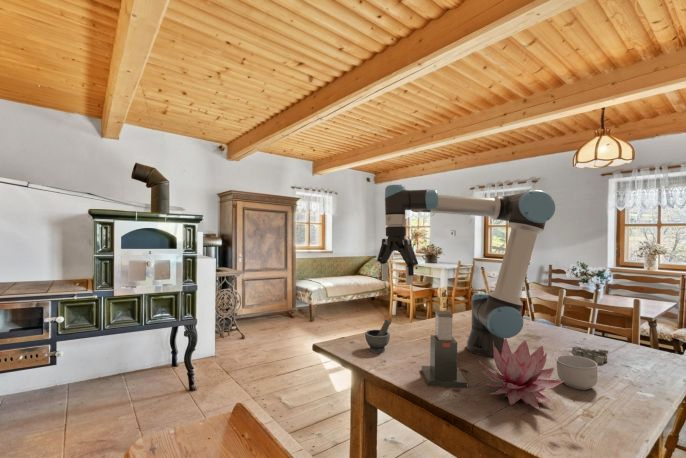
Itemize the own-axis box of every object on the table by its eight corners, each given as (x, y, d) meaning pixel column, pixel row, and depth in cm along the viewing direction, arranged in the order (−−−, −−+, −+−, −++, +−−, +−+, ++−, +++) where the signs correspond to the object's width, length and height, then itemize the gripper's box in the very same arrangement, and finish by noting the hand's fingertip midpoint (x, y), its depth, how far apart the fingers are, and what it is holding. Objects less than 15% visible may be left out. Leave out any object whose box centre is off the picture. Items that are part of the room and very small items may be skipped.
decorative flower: (504, 375, 113) (505, 330, 113) (575, 403, 95) (576, 350, 95) (463, 391, 102) (464, 341, 102) (535, 427, 84) (536, 366, 84)
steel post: (448, 370, 113) (449, 311, 113) (451, 376, 108) (452, 314, 108) (434, 370, 113) (435, 310, 113) (437, 376, 108) (438, 314, 108)
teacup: (599, 397, 99) (599, 370, 99) (555, 387, 105) (556, 362, 105) (594, 379, 111) (594, 355, 111) (555, 371, 117) (555, 348, 117)
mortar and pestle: (372, 356, 129) (373, 324, 129) (360, 348, 137) (361, 318, 137) (396, 351, 134) (397, 321, 134) (384, 344, 142) (384, 316, 142)
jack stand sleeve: (456, 371, 116) (457, 333, 116) (467, 387, 104) (467, 345, 104) (421, 369, 117) (421, 332, 117) (428, 385, 105) (428, 344, 105)
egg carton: (610, 362, 127) (610, 351, 127) (600, 365, 123) (600, 354, 123) (578, 352, 136) (579, 342, 136) (569, 355, 133) (569, 345, 133)
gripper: (367, 226, 135) (368, 279, 135) (411, 225, 114) (413, 287, 114) (382, 226, 139) (383, 277, 139) (427, 225, 118) (428, 285, 118)
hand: (396, 282), depth 127 cm, fingers open, 13 cm apart
